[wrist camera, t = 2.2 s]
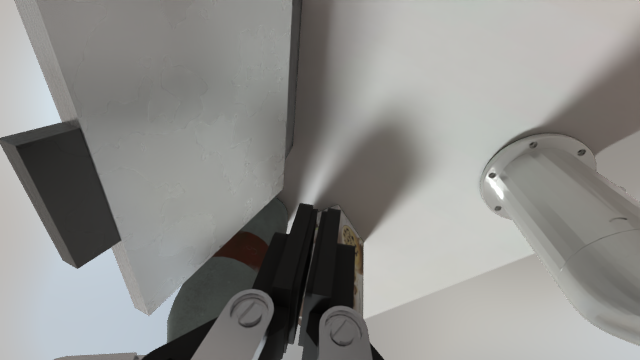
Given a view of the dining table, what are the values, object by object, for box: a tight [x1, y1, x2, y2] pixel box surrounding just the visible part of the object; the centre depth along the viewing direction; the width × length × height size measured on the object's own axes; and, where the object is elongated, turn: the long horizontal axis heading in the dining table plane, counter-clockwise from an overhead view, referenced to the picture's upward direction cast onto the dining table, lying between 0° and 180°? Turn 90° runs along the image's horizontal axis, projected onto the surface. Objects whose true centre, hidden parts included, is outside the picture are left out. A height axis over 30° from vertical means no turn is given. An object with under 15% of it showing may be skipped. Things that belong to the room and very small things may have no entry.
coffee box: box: [298, 205, 364, 326], centre depth 39 cm, size 9×6×16 cm
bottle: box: [167, 197, 288, 343], centre depth 34 cm, size 9×9×30 cm
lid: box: [0, 0, 292, 315], centre depth 18 cm, size 19×19×1 cm
